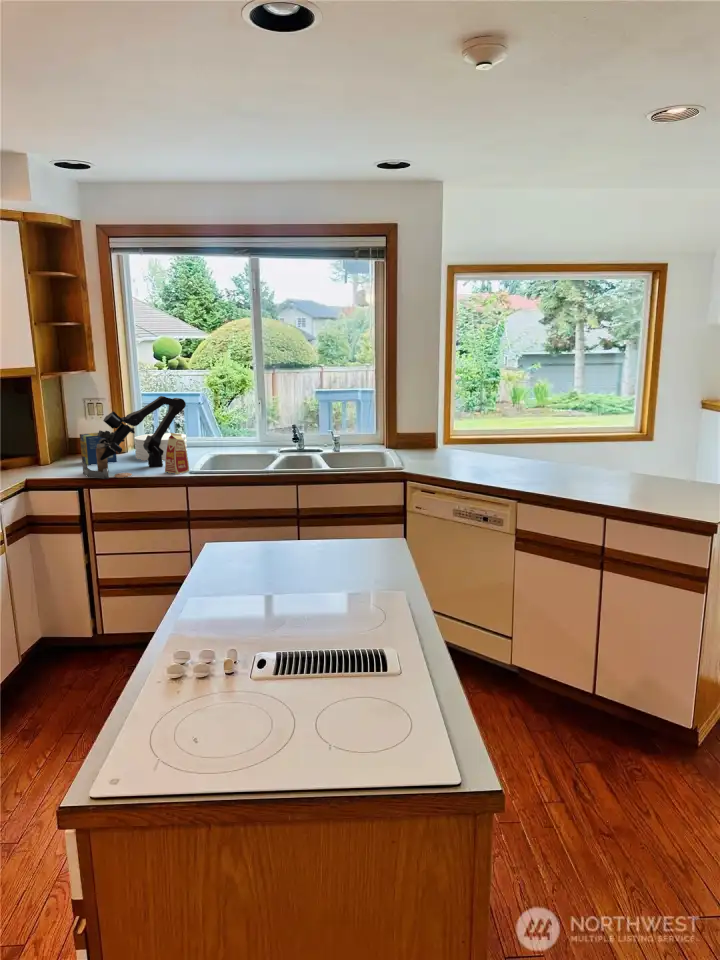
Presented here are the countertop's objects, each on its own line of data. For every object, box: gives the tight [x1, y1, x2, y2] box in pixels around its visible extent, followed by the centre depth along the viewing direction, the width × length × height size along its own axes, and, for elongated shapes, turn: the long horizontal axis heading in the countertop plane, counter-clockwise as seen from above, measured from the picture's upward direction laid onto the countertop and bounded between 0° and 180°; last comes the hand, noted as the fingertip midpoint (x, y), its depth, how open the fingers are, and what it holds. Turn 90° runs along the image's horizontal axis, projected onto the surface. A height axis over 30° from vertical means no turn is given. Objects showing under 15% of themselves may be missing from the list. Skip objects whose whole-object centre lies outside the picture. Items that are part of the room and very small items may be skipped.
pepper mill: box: [96, 444, 109, 471], centre depth 314 cm, size 5×5×14 cm
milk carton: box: [164, 432, 190, 475], centre depth 315 cm, size 9×9×20 cm
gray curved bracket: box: [82, 463, 110, 480], centre depth 306 cm, size 5×21×5 cm, turn 52°
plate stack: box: [133, 432, 188, 461], centre depth 359 cm, size 28×28×12 cm
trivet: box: [113, 472, 133, 479], centre depth 307 cm, size 8×8×1 cm
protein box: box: [79, 432, 118, 466], centre depth 341 cm, size 10×15×16 cm
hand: (99, 459), depth 313 cm, fingers closed on pepper mill, 5 cm apart
